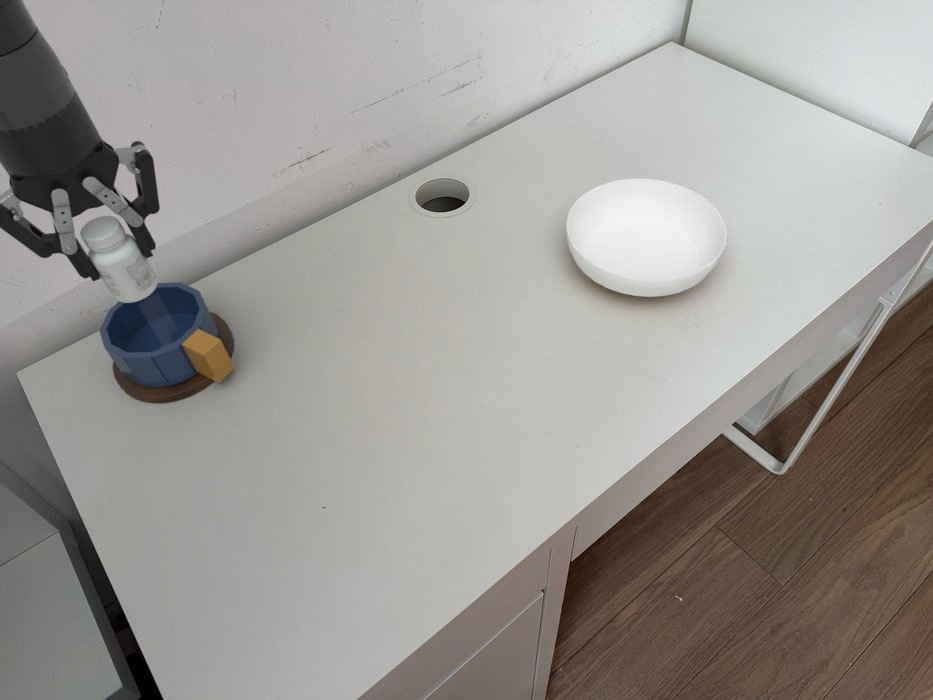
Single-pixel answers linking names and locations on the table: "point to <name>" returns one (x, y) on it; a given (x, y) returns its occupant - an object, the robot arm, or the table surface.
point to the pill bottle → (118, 259)
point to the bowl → (645, 236)
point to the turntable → (179, 389)
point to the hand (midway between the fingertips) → (121, 263)
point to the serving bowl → (165, 338)
